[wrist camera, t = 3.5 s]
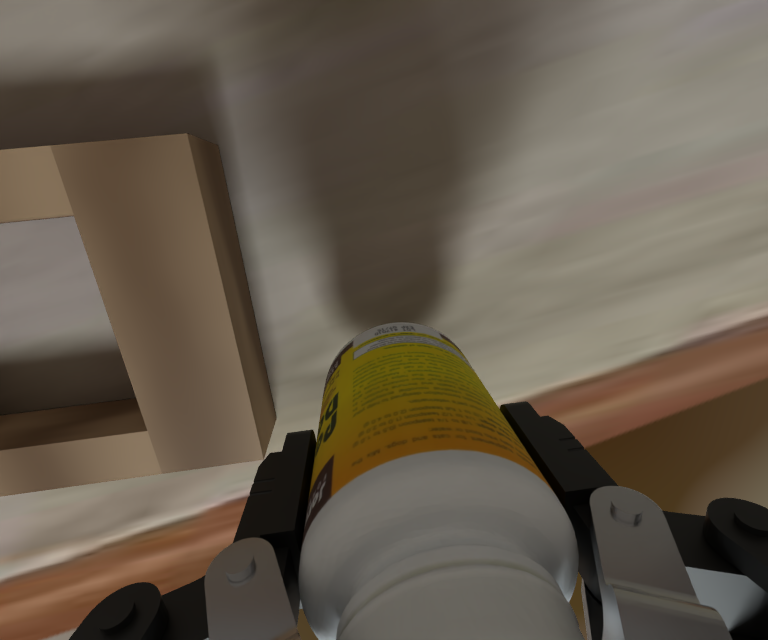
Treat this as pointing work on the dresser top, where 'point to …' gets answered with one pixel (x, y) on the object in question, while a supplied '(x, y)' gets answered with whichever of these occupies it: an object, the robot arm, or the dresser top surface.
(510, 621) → the supplement bottle
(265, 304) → the dresser top surface
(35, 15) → the dresser top surface
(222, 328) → the holder block
